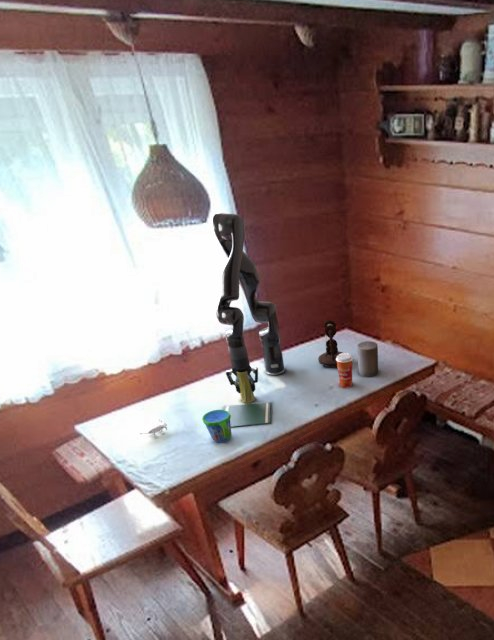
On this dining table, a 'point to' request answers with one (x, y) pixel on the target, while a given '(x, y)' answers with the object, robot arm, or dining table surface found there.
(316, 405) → the dining table surface
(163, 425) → the grey animal figurine
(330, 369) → the dining table surface
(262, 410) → the green board
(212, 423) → the snack cup
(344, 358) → the paper cup
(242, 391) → the vase
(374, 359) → the pillar candle
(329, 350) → the dark brown sculpture
